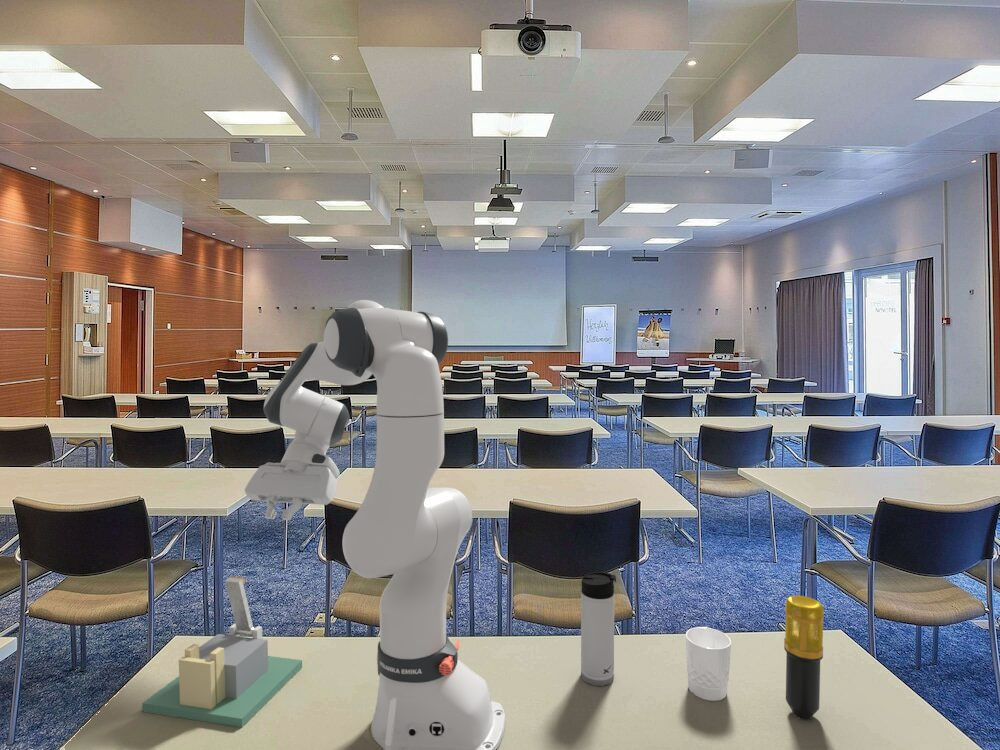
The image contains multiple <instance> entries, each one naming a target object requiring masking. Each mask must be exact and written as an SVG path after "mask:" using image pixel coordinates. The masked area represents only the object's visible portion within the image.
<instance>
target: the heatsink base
mask: <svg viewBox="0 0 1000 750" xmlns="http://www.w3.org/2000/svg"><path fill="white" fill-rule="evenodd" d="M253 628H254V629H253V630H252V633H253V637H248V636H240V635H236V634H235V630H236V624H235V623H233V624H231V626H229V627H228V630H229V631H228V633H229V634H221V633H220V634H219V633H218V634H216V635H215V636H213V637H212V638H210V639H208V640H207V641H206V642H204V643H203V644H202V645H199V644H195V643H193V644H191V645H189V647H187V648H185V649H184V656H182V657H180V658H179V659H178V676H177V677H175V679H173V680H171V681H170V682H169V683H168V684H166V685H164V686H163V687H162V688H161V689H159V690H158V691H156V692H155V693H153V694H152V695H151V696H150V697H148V698H147V699H145V700H144V701H143V702H142V703H141V704H142V705H141V706H142V707H141V709H142V712H143V711H145V713H149V712H150V714H157V715H161V716H162V715H163V716H169V717H175V718H181V719H187V720H192V721H193V720H195V721H200V722H205V723H212V724H218V725H225V726H230V727H235V728H237V727H238V728H243V727H244V726H245V725H246V724H247V723H248V722H249V721H251V719H252V718H253V717H254V716H255V715H256V714H257V713H258V712H260V710H261V709H262V708H264V707H265V705H267V704H268V702H269V701H270V700H272V698H273V697H274V696H276V695H277V694H278V693H279V691H280V690H281V689H282V688H284V686H285V685H286V684H288V682H290V681H291V679H292V678H294V677H295V676H296V675H297V674H298V673H299V671H301V669H302V668H303V660H302V659H295V658H294V659H293V658H290V657H289V658H288V657H280V656H273V655H269V651H268V650H269V648H268V645H269V644H268V639H263V626H260V625H257V626H256V627H253Z"/></svg>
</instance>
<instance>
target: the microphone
mask: <svg viewBox="0 0 1000 750" xmlns="http://www.w3.org/2000/svg"><path fill="white" fill-rule="evenodd" d="M824 610H825V609H824V606H823V604H822V603H821V602H820V601H819V600H817V599H814V598H812V597H809V596H804V595H791V596H789V597H787V598H786V599H785V608H784V613H785V631H784V632H785V635H784V644H783V645H784V646H783V647H784V650H785V651H784V652H786V666H785V667H786V670H785V701H786V704H787V705H788V707H789V708H790V710H791V712H792V713H793V715H794V716H796V717H797V718H799V719H801V720H811V719H812V718H813V717H814V715H816V713H817V712H818V711H819V710H820V697H821V695H820V691H821V687H820V685H821V684H820V683H821V660H822V659H823V658H824V646H823V645H824V644H823V642H824V641H823V638H824V637H823V636H824V634H823V633H824V621H825V619H824V618H825V615H824V613H825V612H824Z"/></svg>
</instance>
